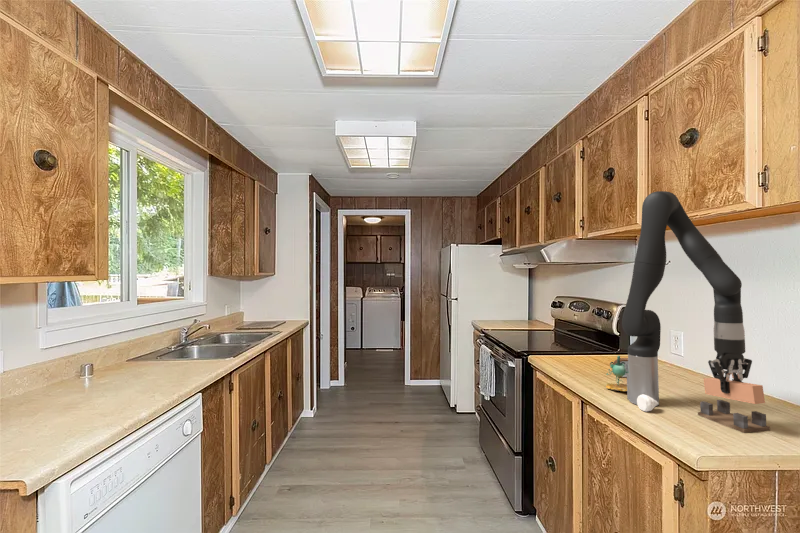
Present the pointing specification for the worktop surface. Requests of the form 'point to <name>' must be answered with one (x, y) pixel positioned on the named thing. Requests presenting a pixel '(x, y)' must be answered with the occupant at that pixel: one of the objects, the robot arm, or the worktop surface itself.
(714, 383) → the terracotta clay brick
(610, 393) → the worktop surface
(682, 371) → the worktop surface
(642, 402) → the garlic bulb
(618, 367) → the frog figurine
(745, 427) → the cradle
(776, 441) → the worktop surface
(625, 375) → the tin
